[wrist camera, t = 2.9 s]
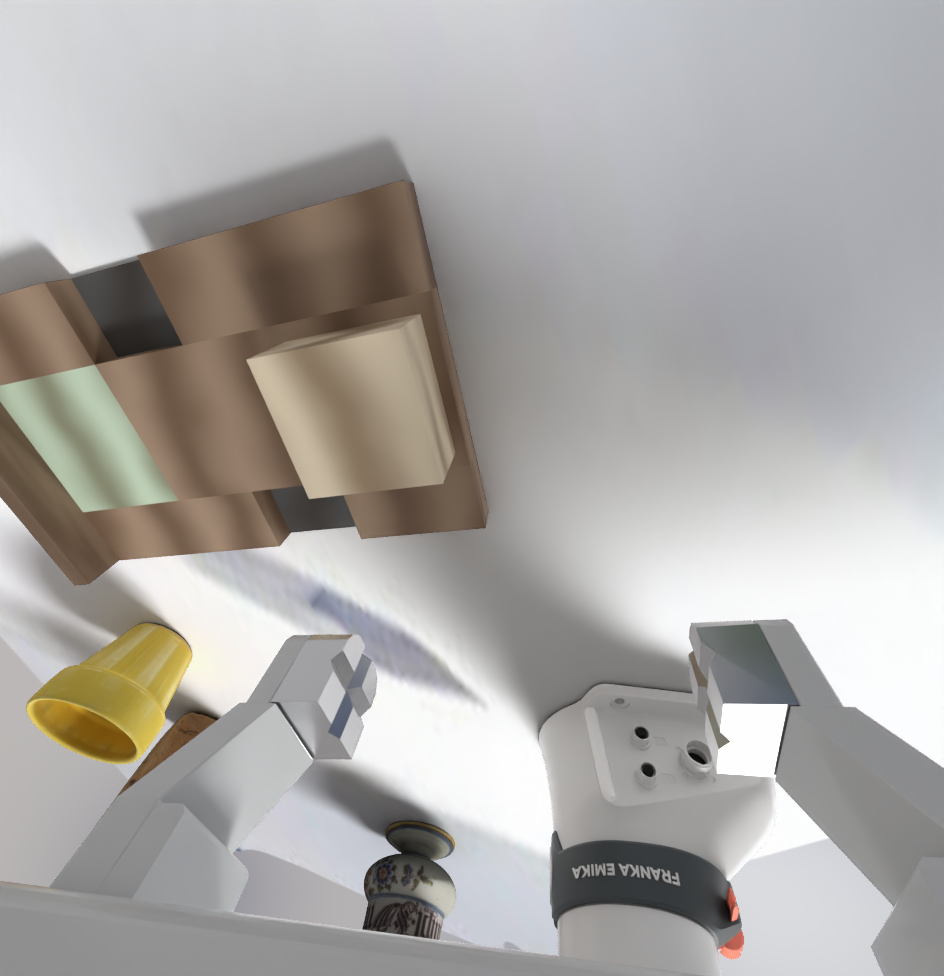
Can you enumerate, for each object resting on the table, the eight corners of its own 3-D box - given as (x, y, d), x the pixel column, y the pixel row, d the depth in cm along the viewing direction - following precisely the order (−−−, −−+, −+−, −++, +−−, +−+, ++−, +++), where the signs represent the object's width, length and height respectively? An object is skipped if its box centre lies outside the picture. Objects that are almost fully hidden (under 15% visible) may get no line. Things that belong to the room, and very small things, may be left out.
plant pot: (180, 686, 52) (109, 776, 43) (100, 631, 48) (6, 717, 40) (228, 657, 47) (160, 751, 39) (144, 595, 44) (50, 682, 36)
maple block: (420, 313, 24) (399, 328, 21) (455, 452, 28) (442, 483, 25) (285, 342, 26) (246, 359, 23) (335, 468, 30) (309, 499, 27)
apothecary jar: (405, 859, 67) (363, 1047, 52) (363, 818, 62) (302, 1013, 47) (477, 857, 63) (454, 1060, 48) (438, 813, 58) (398, 1025, 43)
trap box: (413, 183, 23) (382, 174, 19) (488, 512, 33) (479, 555, 29) (-47, 312, 31) (-142, 327, 27) (124, 547, 41) (74, 585, 36)
